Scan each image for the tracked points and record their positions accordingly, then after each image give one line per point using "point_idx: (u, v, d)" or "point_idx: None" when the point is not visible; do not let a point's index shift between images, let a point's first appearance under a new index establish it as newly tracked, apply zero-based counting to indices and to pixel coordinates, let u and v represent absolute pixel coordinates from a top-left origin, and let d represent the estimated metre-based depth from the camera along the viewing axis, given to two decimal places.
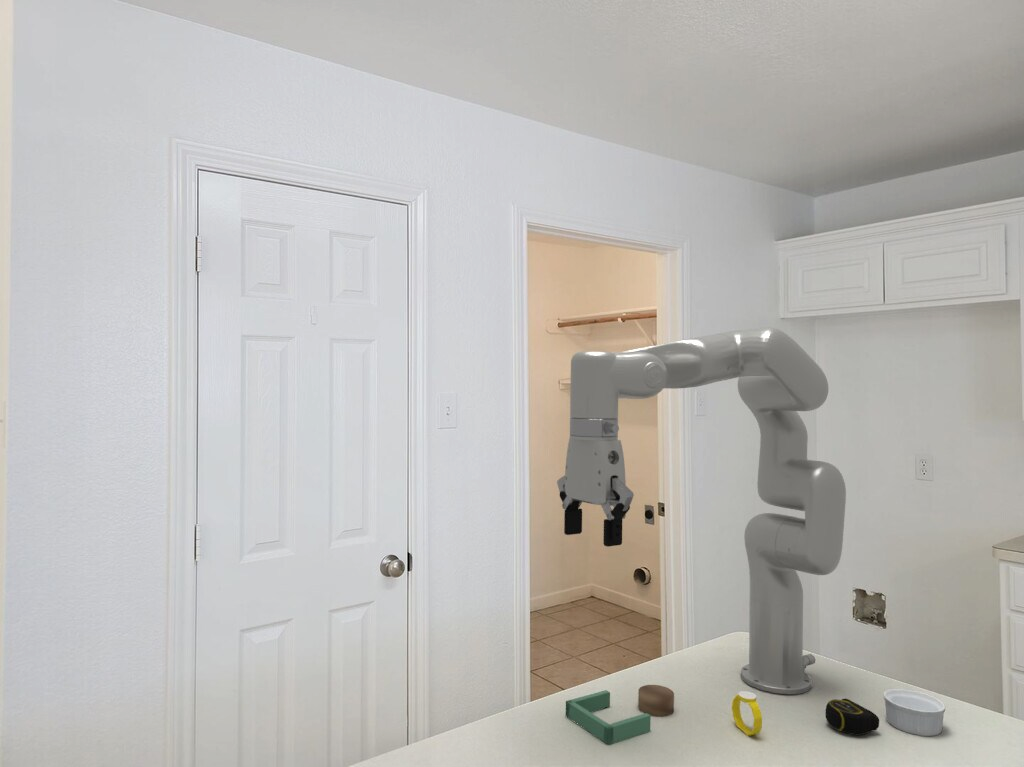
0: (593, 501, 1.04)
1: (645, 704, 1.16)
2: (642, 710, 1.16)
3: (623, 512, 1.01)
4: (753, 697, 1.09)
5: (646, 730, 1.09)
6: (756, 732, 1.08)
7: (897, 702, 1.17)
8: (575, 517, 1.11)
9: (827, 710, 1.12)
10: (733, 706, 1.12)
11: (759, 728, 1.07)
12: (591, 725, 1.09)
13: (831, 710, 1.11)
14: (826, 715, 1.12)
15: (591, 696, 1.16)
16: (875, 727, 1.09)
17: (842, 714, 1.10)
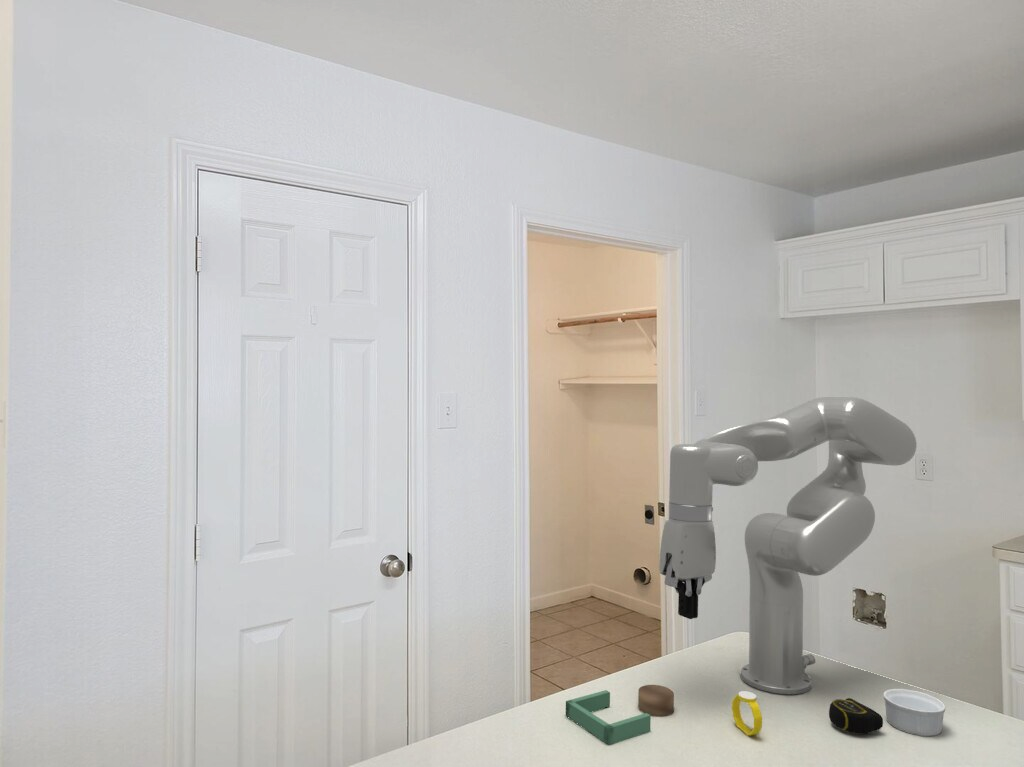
0: (708, 574, 1.22)
1: (645, 704, 1.16)
2: (642, 710, 1.16)
3: None
4: (753, 697, 1.09)
5: (646, 730, 1.09)
6: (756, 732, 1.08)
7: (897, 702, 1.17)
8: None
9: (831, 709, 1.12)
10: (733, 706, 1.12)
11: (759, 728, 1.07)
12: (591, 725, 1.09)
13: (834, 710, 1.11)
14: (830, 715, 1.12)
15: (591, 696, 1.16)
16: (879, 727, 1.09)
17: (846, 714, 1.10)
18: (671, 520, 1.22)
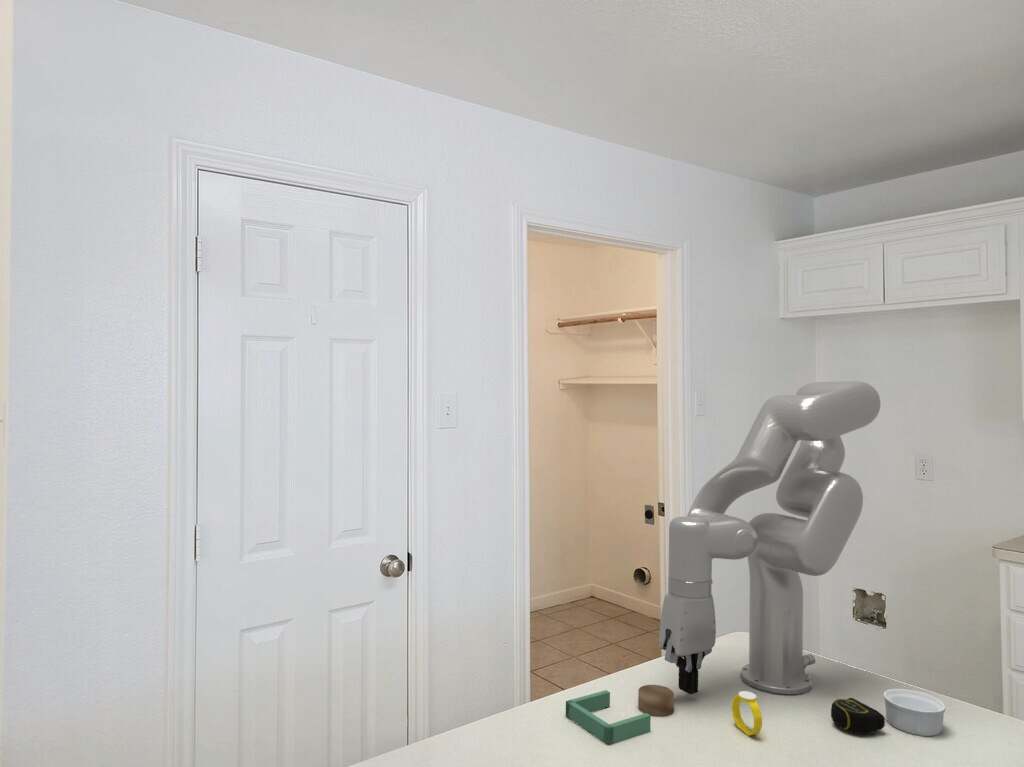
0: (708, 648, 1.22)
1: (645, 704, 1.16)
2: (642, 710, 1.16)
3: None
4: (753, 697, 1.09)
5: (646, 730, 1.09)
6: (756, 732, 1.08)
7: (897, 702, 1.17)
8: None
9: (833, 709, 1.12)
10: (733, 706, 1.12)
11: (759, 728, 1.07)
12: (591, 725, 1.09)
13: (836, 709, 1.12)
14: (832, 714, 1.12)
15: (591, 696, 1.16)
16: (881, 726, 1.10)
17: (847, 713, 1.10)
18: (670, 595, 1.21)
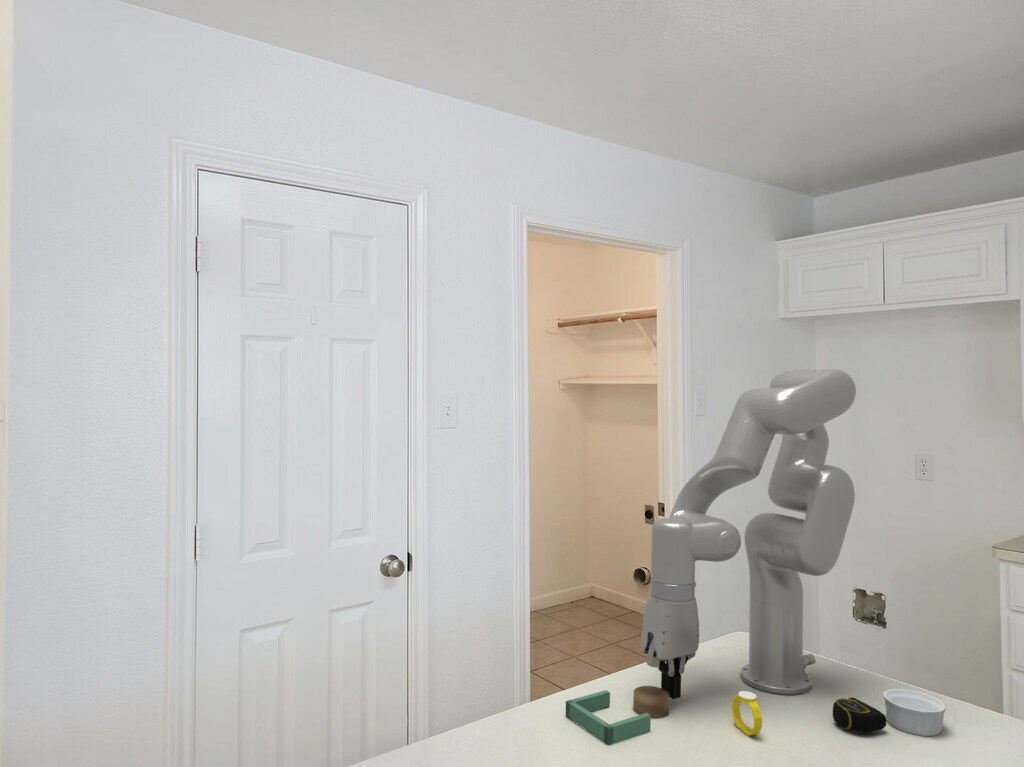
0: (691, 652, 1.20)
1: (640, 705, 1.15)
2: (637, 711, 1.16)
3: None
4: (753, 697, 1.09)
5: (646, 730, 1.09)
6: (756, 732, 1.08)
7: (897, 702, 1.17)
8: None
9: (835, 709, 1.12)
10: (733, 706, 1.12)
11: (759, 728, 1.07)
12: (591, 725, 1.09)
13: (838, 709, 1.12)
14: (833, 714, 1.13)
15: (591, 696, 1.16)
16: (882, 726, 1.10)
17: (849, 713, 1.10)
18: (653, 598, 1.19)
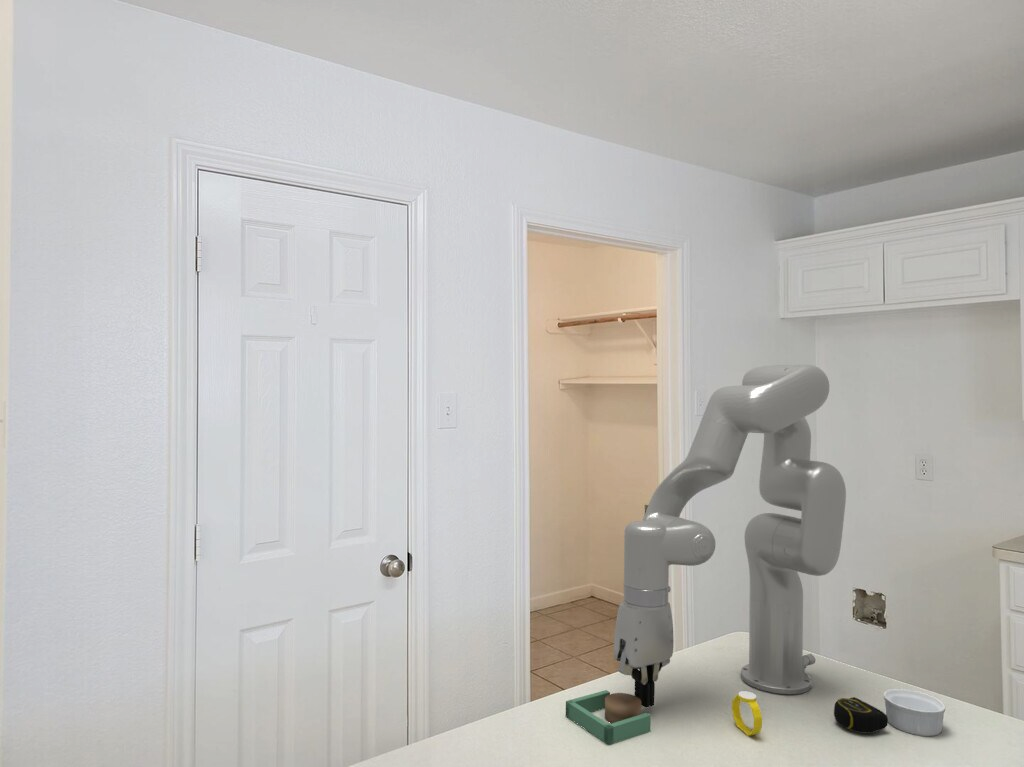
0: (665, 659, 1.16)
1: (611, 713, 1.12)
2: (608, 719, 1.12)
3: None
4: (753, 697, 1.09)
5: (646, 730, 1.09)
6: (756, 732, 1.08)
7: (897, 702, 1.17)
8: None
9: (836, 708, 1.12)
10: (733, 706, 1.12)
11: (759, 728, 1.07)
12: (591, 725, 1.09)
13: (839, 708, 1.12)
14: (835, 714, 1.13)
15: (591, 696, 1.16)
16: (884, 726, 1.10)
17: (850, 712, 1.10)
18: (625, 603, 1.16)
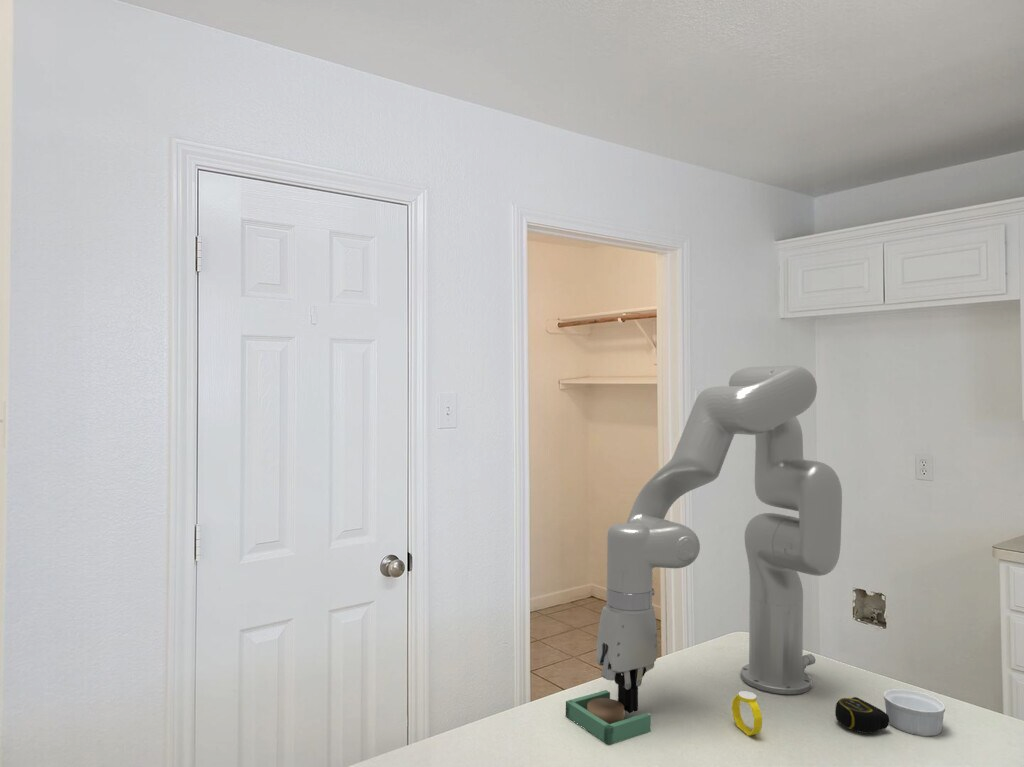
0: (648, 664, 1.14)
1: None
2: None
3: None
4: (753, 697, 1.09)
5: (646, 730, 1.09)
6: (756, 732, 1.08)
7: (897, 702, 1.17)
8: None
9: (837, 708, 1.13)
10: (733, 706, 1.12)
11: (759, 728, 1.07)
12: (591, 725, 1.09)
13: (841, 708, 1.12)
14: (836, 713, 1.13)
15: (591, 696, 1.16)
16: (885, 725, 1.10)
17: (852, 712, 1.10)
18: (608, 607, 1.14)
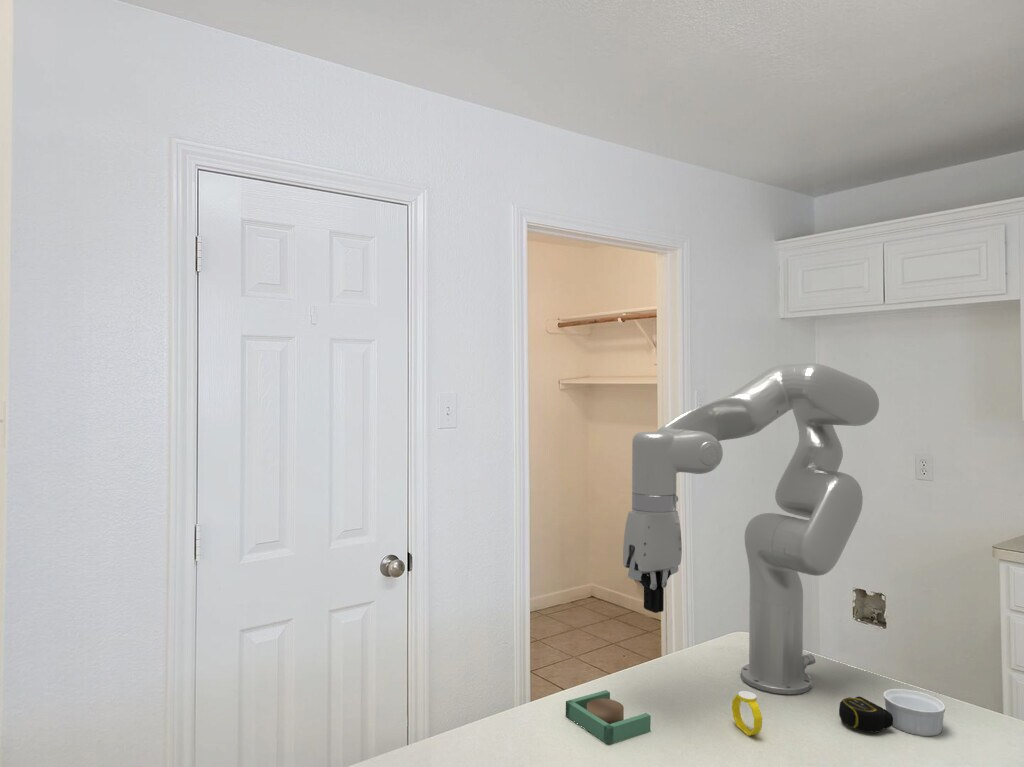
0: (673, 566, 1.18)
1: None
2: None
3: None
4: (753, 697, 1.09)
5: (646, 730, 1.09)
6: (756, 732, 1.08)
7: (897, 702, 1.17)
8: None
9: (841, 707, 1.13)
10: (733, 706, 1.12)
11: (759, 728, 1.07)
12: (591, 725, 1.09)
13: (844, 708, 1.12)
14: (840, 713, 1.13)
15: (591, 696, 1.16)
16: (889, 725, 1.10)
17: (856, 712, 1.10)
18: (634, 511, 1.17)
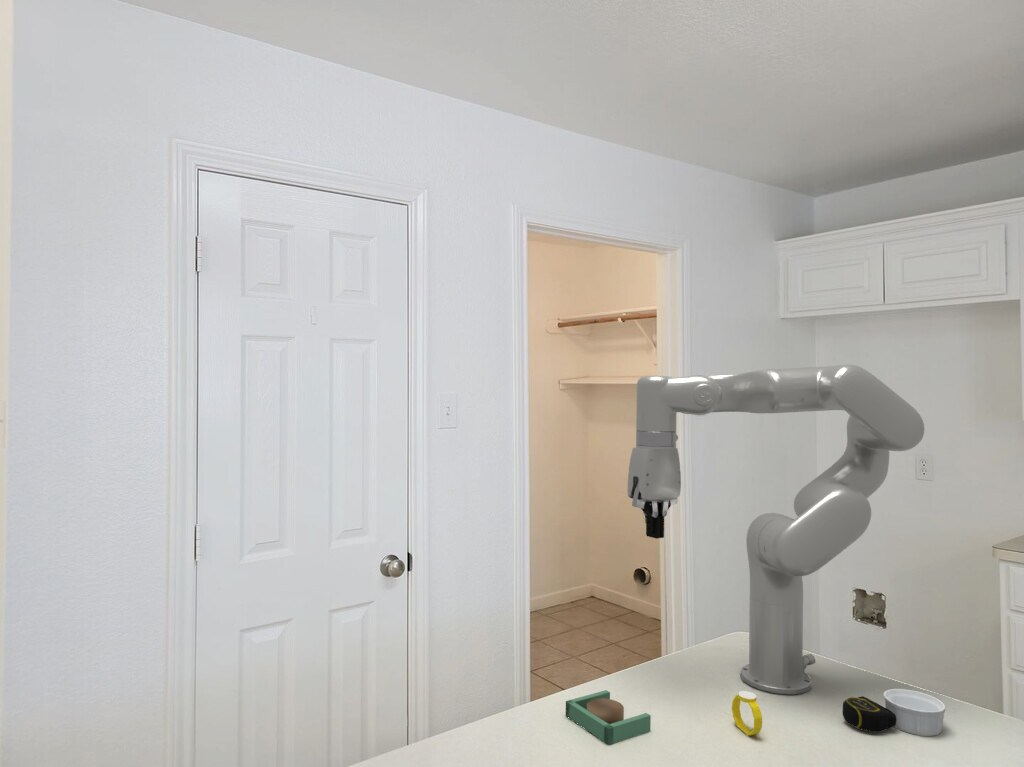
0: (673, 497, 1.30)
1: None
2: None
3: None
4: (753, 697, 1.09)
5: (646, 730, 1.09)
6: (756, 732, 1.08)
7: (897, 702, 1.17)
8: None
9: (845, 707, 1.13)
10: (733, 706, 1.12)
11: (759, 728, 1.07)
12: (591, 725, 1.09)
13: (848, 707, 1.12)
14: (843, 713, 1.13)
15: (591, 696, 1.16)
16: (892, 725, 1.10)
17: (859, 711, 1.11)
18: (638, 446, 1.30)
